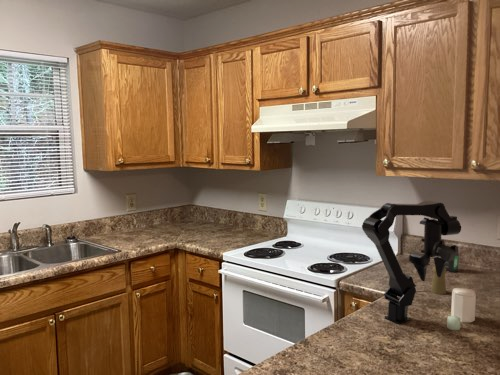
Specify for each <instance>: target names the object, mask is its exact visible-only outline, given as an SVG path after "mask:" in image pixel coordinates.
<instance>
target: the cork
mask: <svg viewBox="0 0 500 375" xmlns="http://www.w3.org/2000/svg"><path fill="white" fill-rule="evenodd" d="M432 272H433V277H432V282H431V287H430V292H431V293H433V294H436V295H446V294H447V286H446V276H445V274H446V273H447V271H446V268H445V267H444V270H443V272H442V275H441V277H438V276H437V273H436V268H435V265H434V266H433V267H432Z"/></svg>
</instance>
